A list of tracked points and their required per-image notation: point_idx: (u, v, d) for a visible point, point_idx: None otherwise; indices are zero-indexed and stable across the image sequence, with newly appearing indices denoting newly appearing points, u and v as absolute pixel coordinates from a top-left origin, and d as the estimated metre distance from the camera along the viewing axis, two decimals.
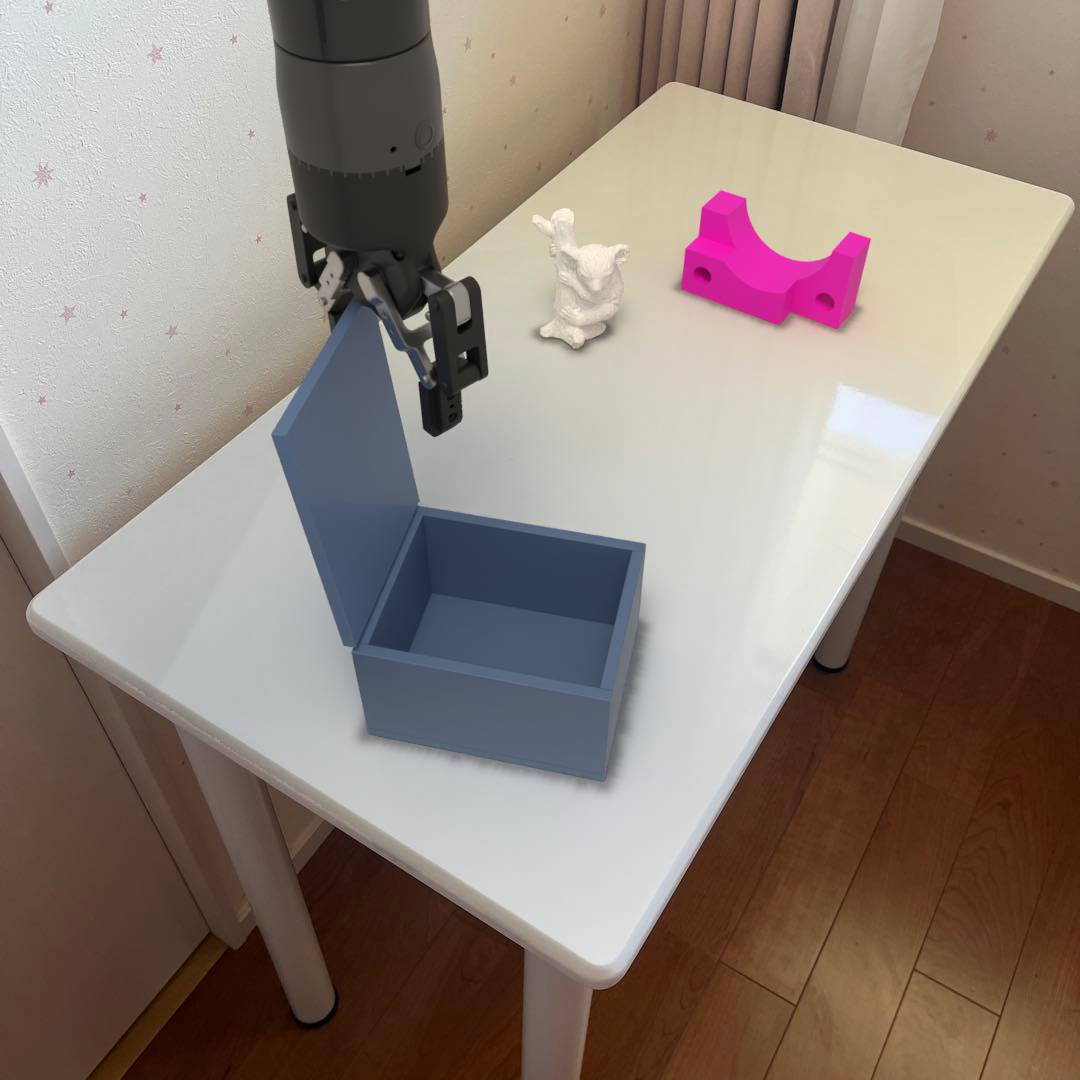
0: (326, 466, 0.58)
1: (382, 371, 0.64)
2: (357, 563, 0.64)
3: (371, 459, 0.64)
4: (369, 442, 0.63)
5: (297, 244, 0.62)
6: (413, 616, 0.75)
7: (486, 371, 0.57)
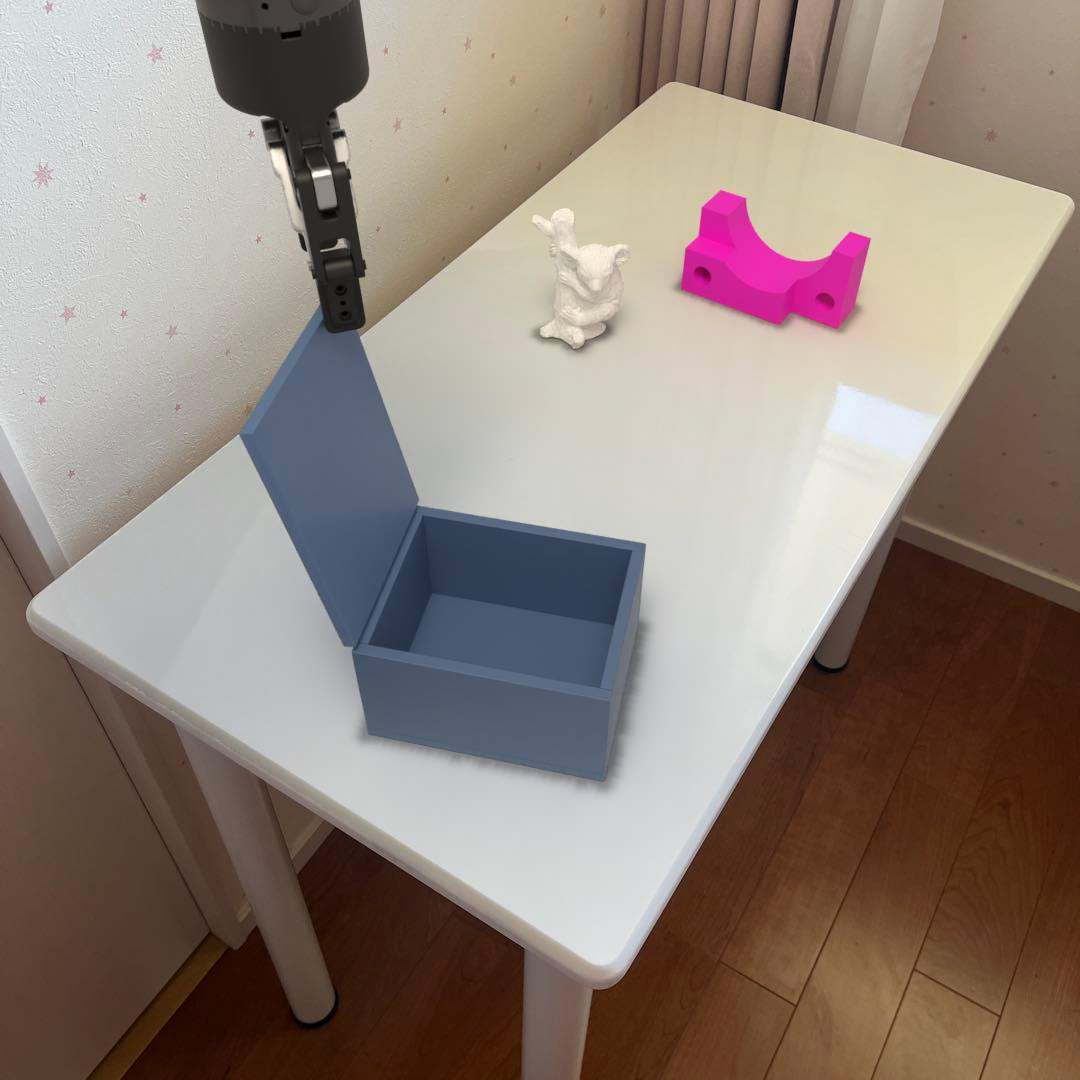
0: (304, 464, 0.58)
1: (362, 370, 0.65)
2: (350, 562, 0.64)
3: (357, 458, 0.64)
4: (353, 441, 0.64)
5: (270, 116, 0.62)
6: (413, 616, 0.75)
7: (362, 269, 0.55)
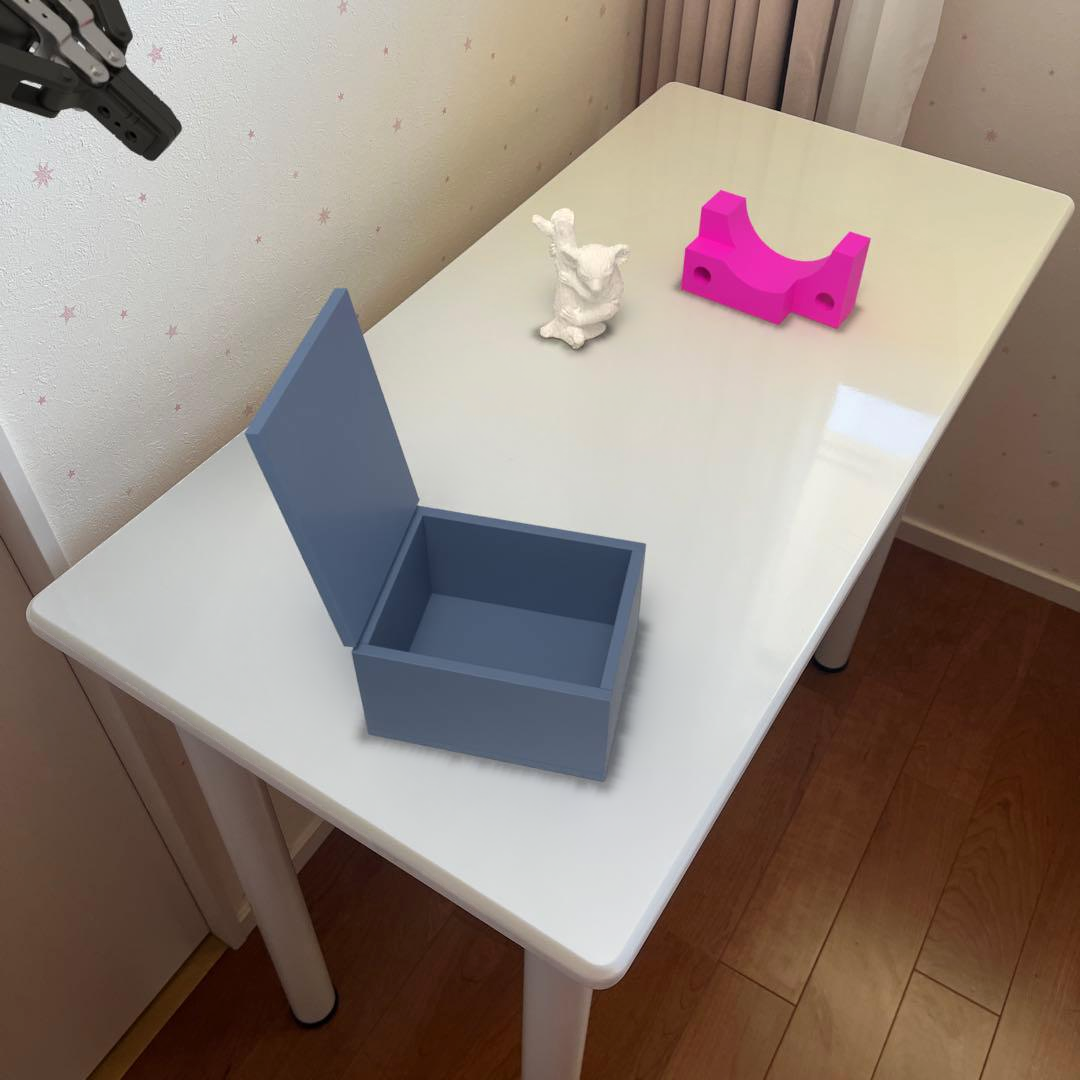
0: (308, 464, 0.58)
1: (366, 370, 0.65)
2: (351, 562, 0.64)
3: (360, 458, 0.64)
4: (356, 441, 0.64)
5: None
6: (413, 616, 0.75)
7: (65, 87, 0.51)
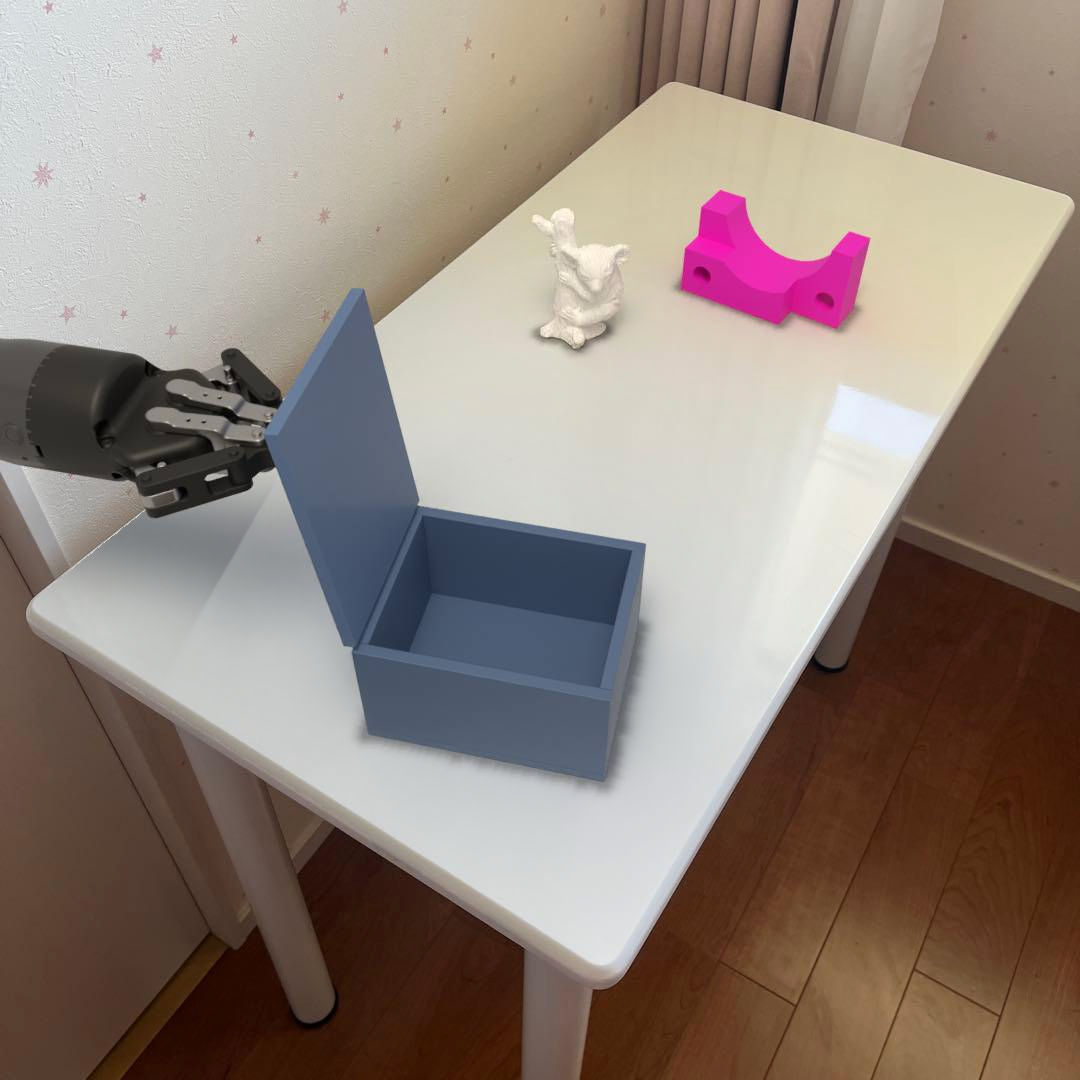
0: (321, 465, 0.58)
1: (377, 371, 0.64)
2: (356, 562, 0.64)
3: (368, 459, 0.64)
4: (365, 442, 0.63)
5: None
6: (413, 616, 0.75)
7: (235, 461, 0.60)
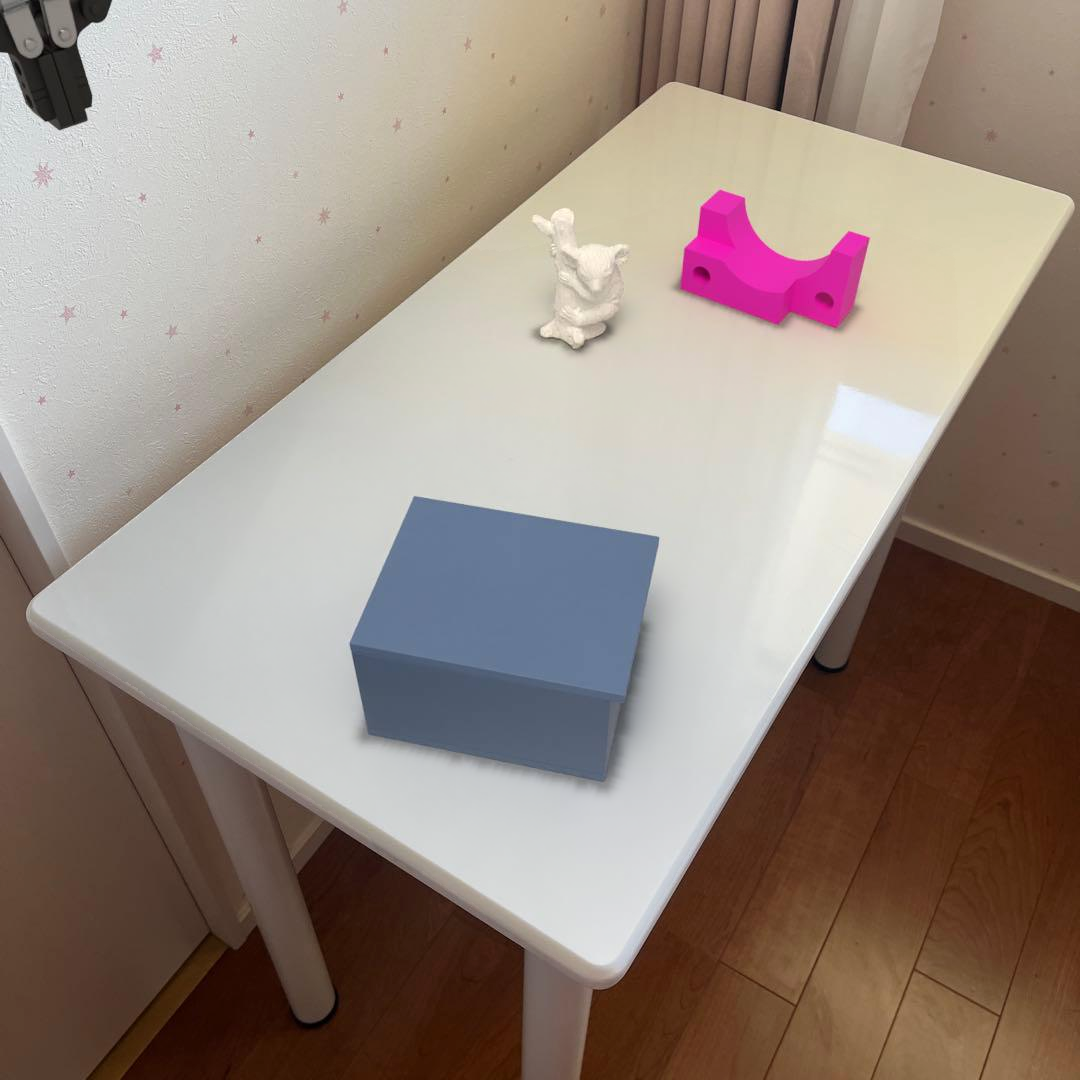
0: None
1: None
2: None
3: None
4: None
5: None
6: None
7: None
